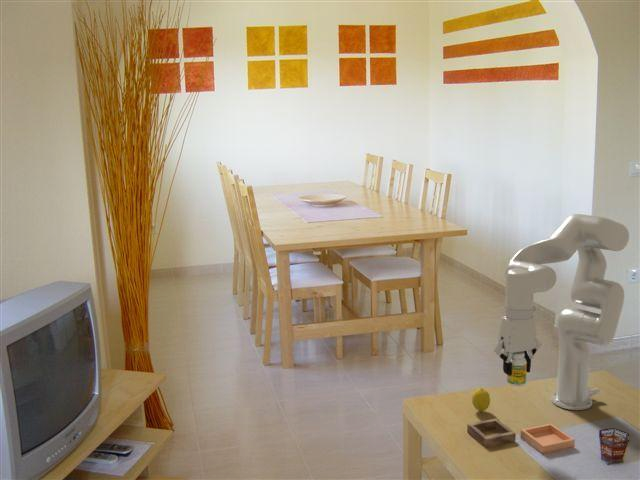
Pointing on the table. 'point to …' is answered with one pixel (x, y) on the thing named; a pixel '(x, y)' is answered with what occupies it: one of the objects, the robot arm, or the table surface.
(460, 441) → the table surface
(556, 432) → the dish
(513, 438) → the tray
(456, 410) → the table surface
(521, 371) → the supplement bottle
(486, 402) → the lemon
